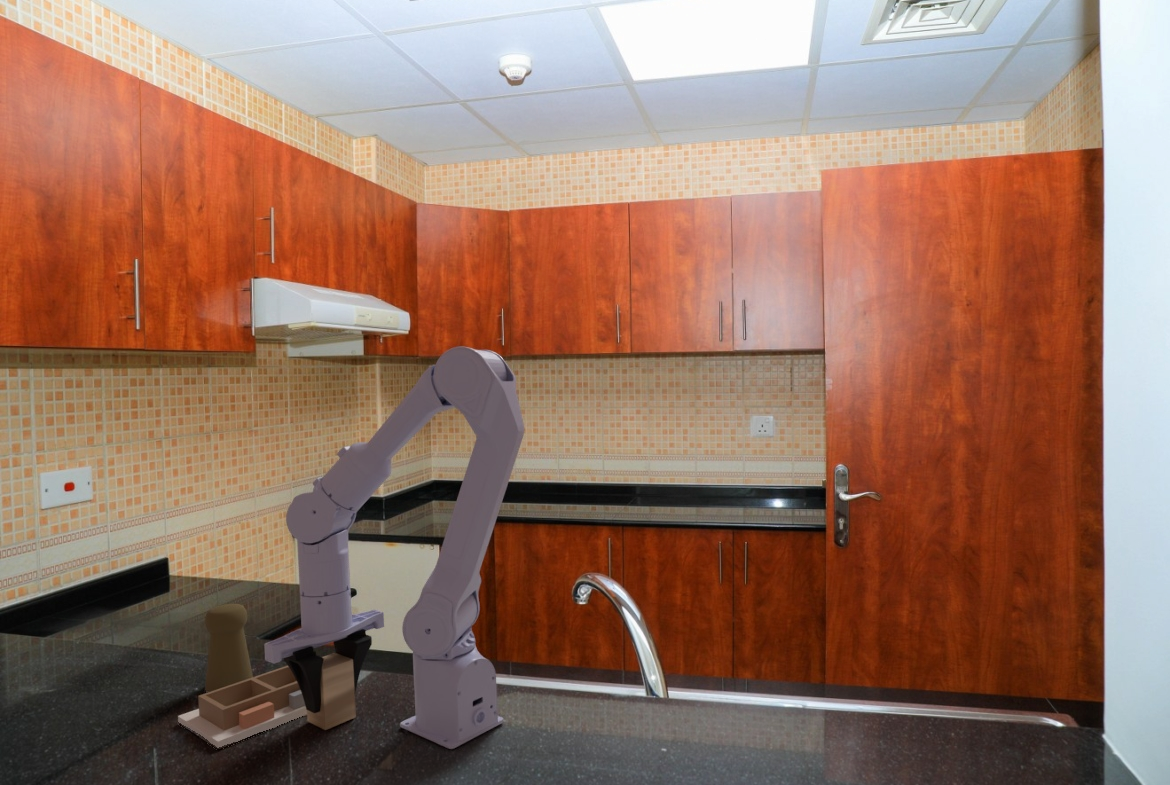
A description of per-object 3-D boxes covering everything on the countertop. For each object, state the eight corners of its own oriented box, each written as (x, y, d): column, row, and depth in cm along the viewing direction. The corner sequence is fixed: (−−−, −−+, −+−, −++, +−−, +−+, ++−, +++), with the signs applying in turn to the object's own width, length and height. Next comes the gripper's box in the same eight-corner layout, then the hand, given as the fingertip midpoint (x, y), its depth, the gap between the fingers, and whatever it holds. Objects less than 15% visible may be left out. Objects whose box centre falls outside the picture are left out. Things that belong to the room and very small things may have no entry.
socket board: (346, 698, 93) (345, 672, 93) (218, 750, 81) (216, 720, 81) (302, 679, 100) (301, 654, 100) (178, 724, 88) (176, 696, 88)
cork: (234, 696, 95) (230, 613, 95) (194, 694, 97) (190, 612, 97) (263, 678, 101) (259, 599, 101) (225, 676, 103) (221, 598, 102)
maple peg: (355, 717, 87) (353, 659, 87) (325, 730, 84) (322, 670, 84) (337, 708, 90) (334, 652, 90) (307, 721, 87) (304, 663, 87)
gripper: (359, 572, 95) (364, 675, 95) (249, 600, 84) (255, 717, 84) (391, 579, 91) (397, 687, 91) (279, 610, 79) (285, 734, 80)
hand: (331, 703), depth 87 cm, fingers closed on maple peg, 4 cm apart
